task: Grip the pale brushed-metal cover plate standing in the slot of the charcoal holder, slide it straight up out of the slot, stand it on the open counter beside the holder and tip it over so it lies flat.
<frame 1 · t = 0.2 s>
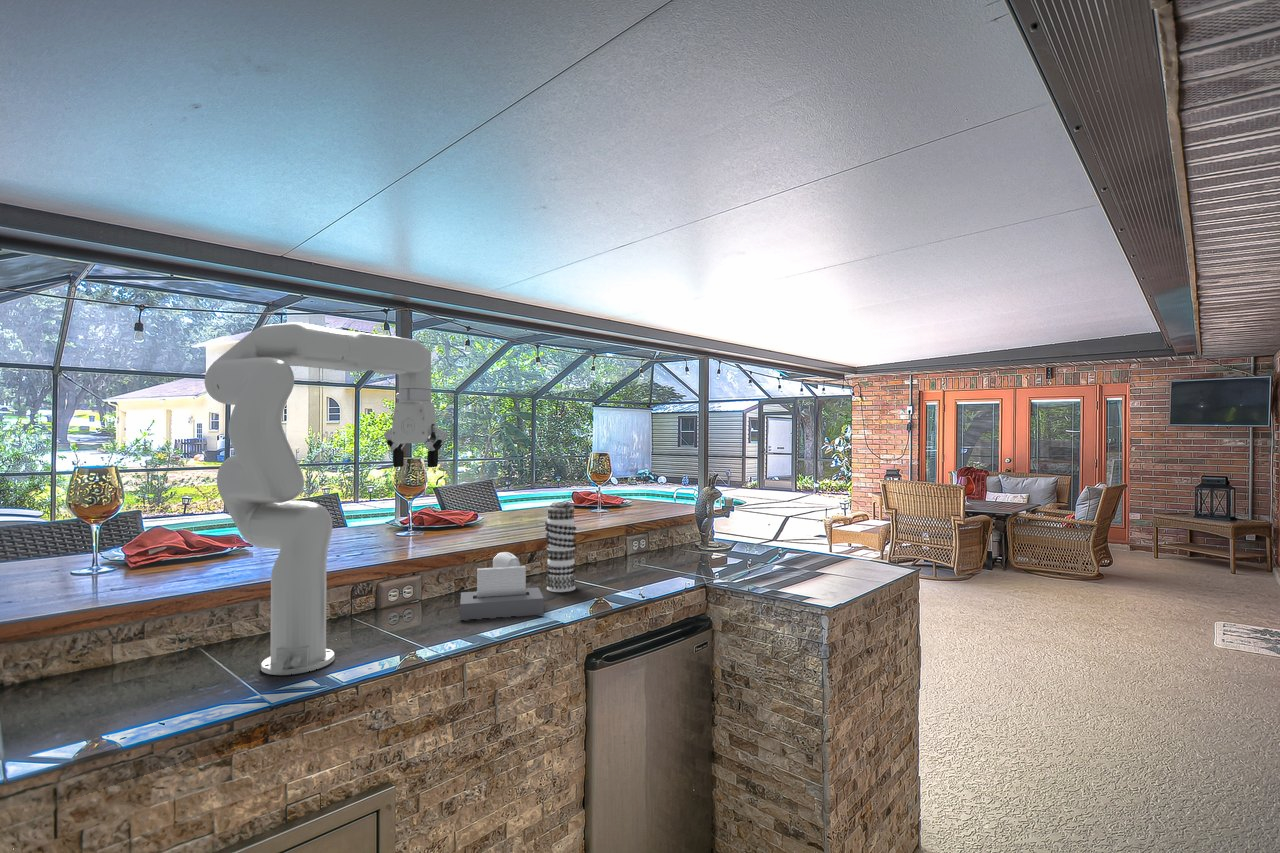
hand: (415, 466, 154), 37 cm above the worktop, tool pointing down, fingers open, 9 cm apart
slot holder: (501, 611, 160), on the worktop
decorative candle: (560, 589, 184), on the worktop
white rounded box: (506, 598, 174), on the worktop
cover plate: (501, 589, 160), in the slot holder
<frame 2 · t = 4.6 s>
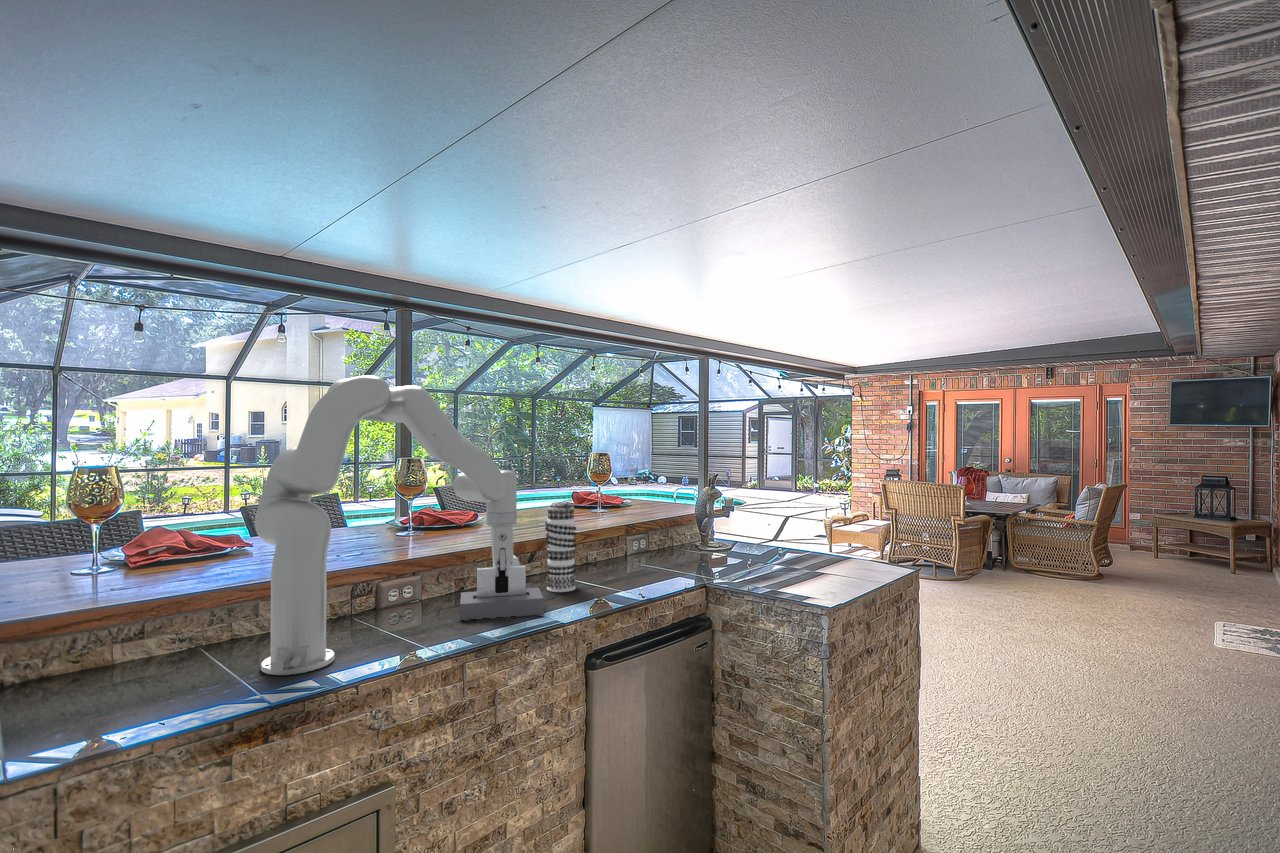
hand: (501, 590, 160), 5 cm above the worktop, tool pointing down, fingers closed on cover plate, 2 cm apart
cover plate: (501, 589, 160), in the slot holder, touching gripper
everything else where it was.
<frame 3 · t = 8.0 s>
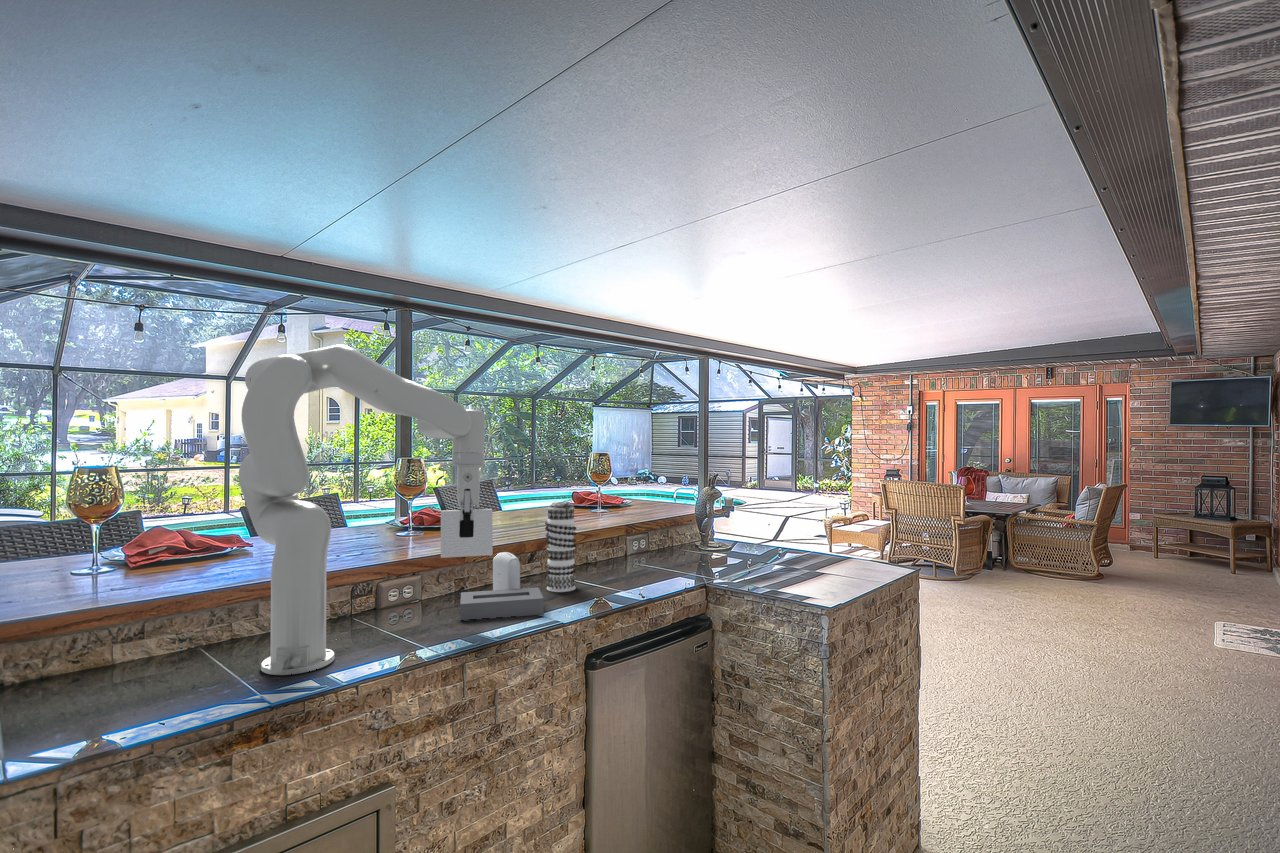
hand: (466, 535, 152), 20 cm above the worktop, tool pointing down, fingers closed on cover plate
cover plate: (466, 532, 152), point 21 cm above the worktop, touching gripper
everything else where it was.
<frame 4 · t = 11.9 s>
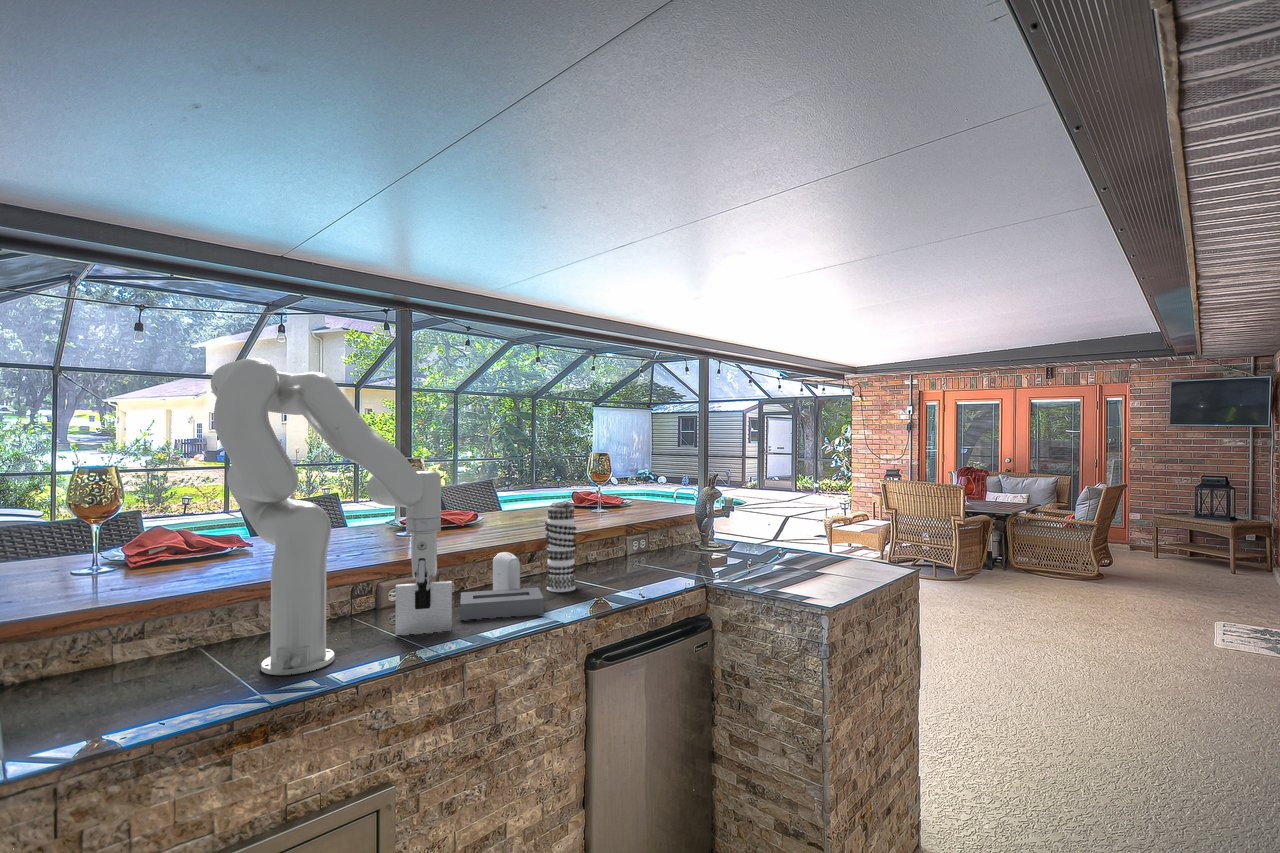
hand: (423, 605, 143), 6 cm above the worktop, tool pointing down, fingers open, 3 cm apart
cover plate: (424, 608, 143), on the worktop
everything else where it was.
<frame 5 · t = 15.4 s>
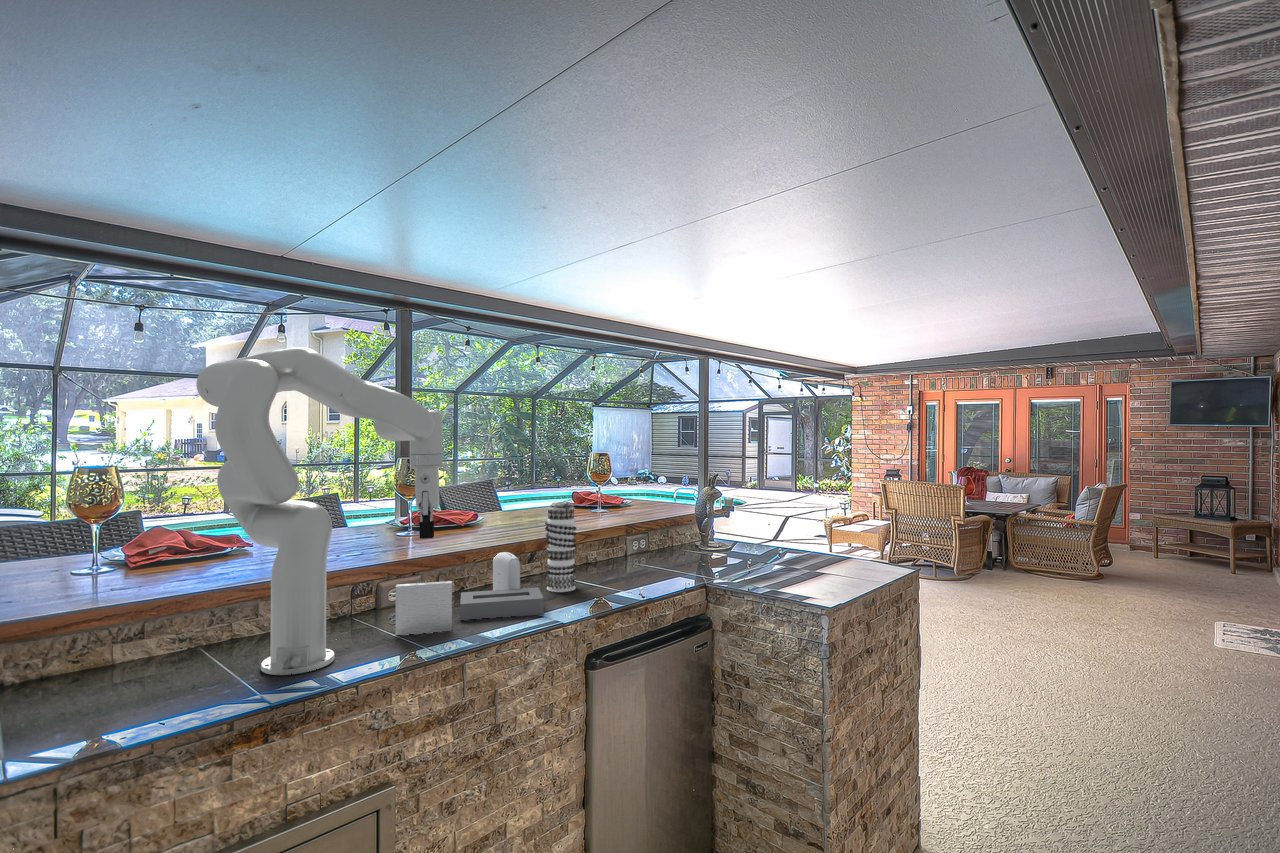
hand: (426, 537, 151), 20 cm above the worktop, tool pointing down, fingers closed
nothing on the worktop moved.
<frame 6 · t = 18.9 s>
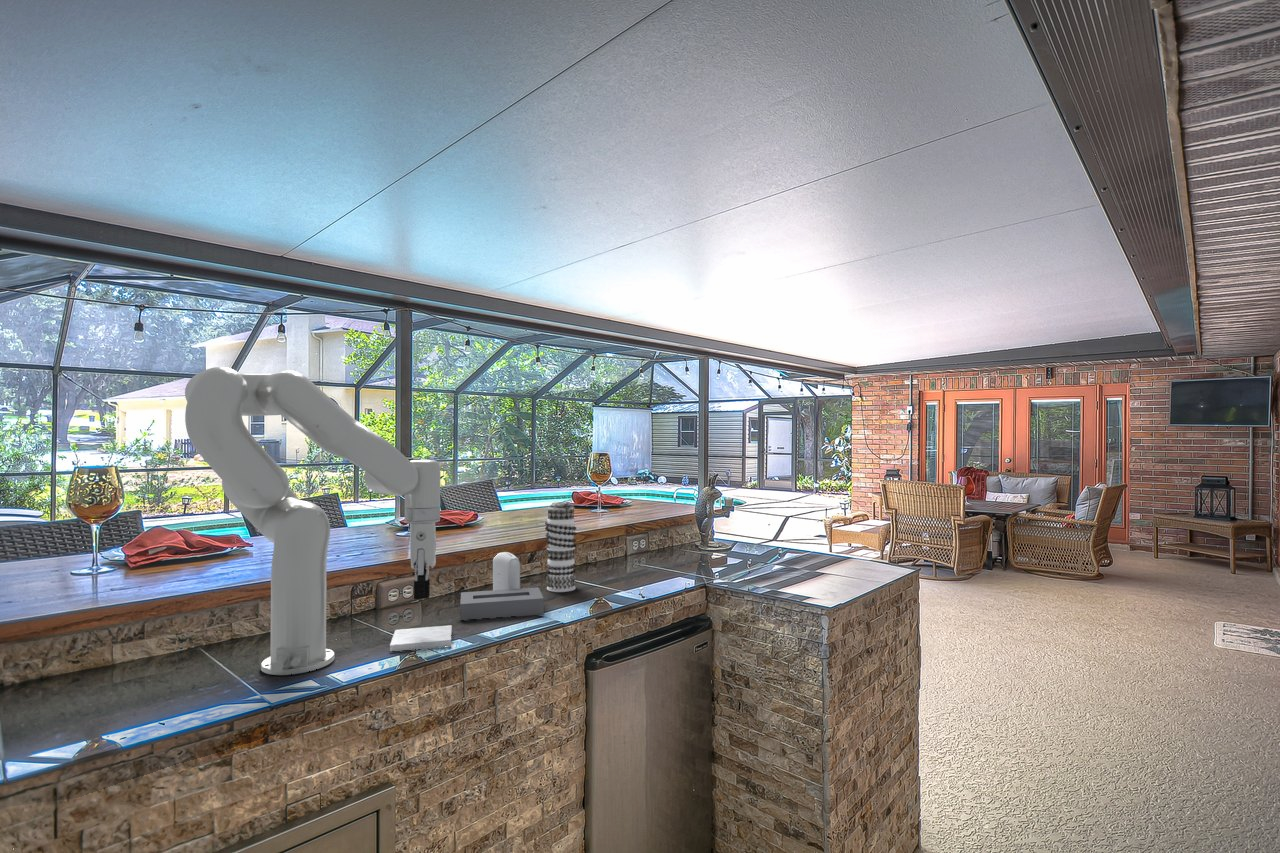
hand: (421, 597, 140), 8 cm above the worktop, tool pointing down, fingers closed
cover plate: (422, 639, 136), on the worktop, tilted 90°
everything else where it was.
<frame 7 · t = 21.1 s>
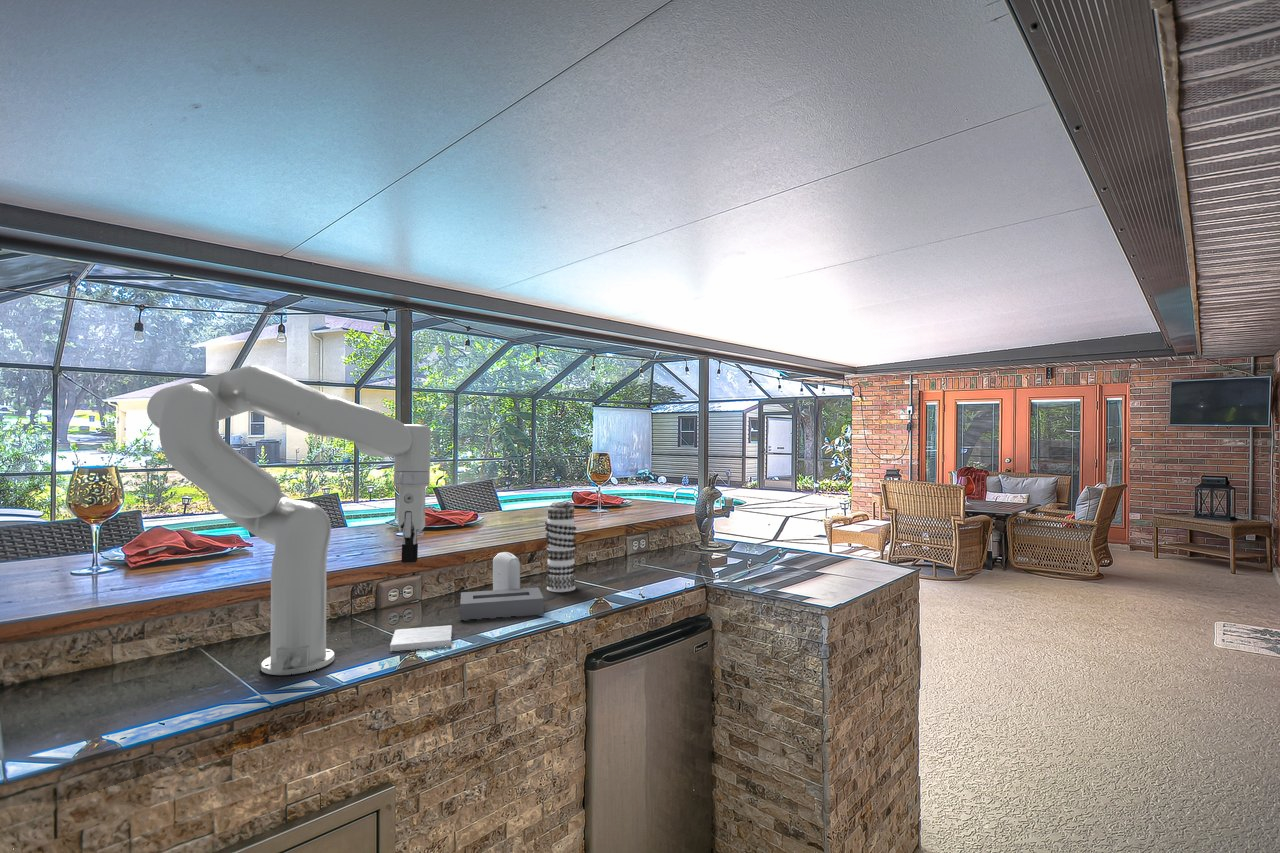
hand: (409, 561, 140), 16 cm above the worktop, tool pointing down, fingers closed
nothing on the worktop moved.
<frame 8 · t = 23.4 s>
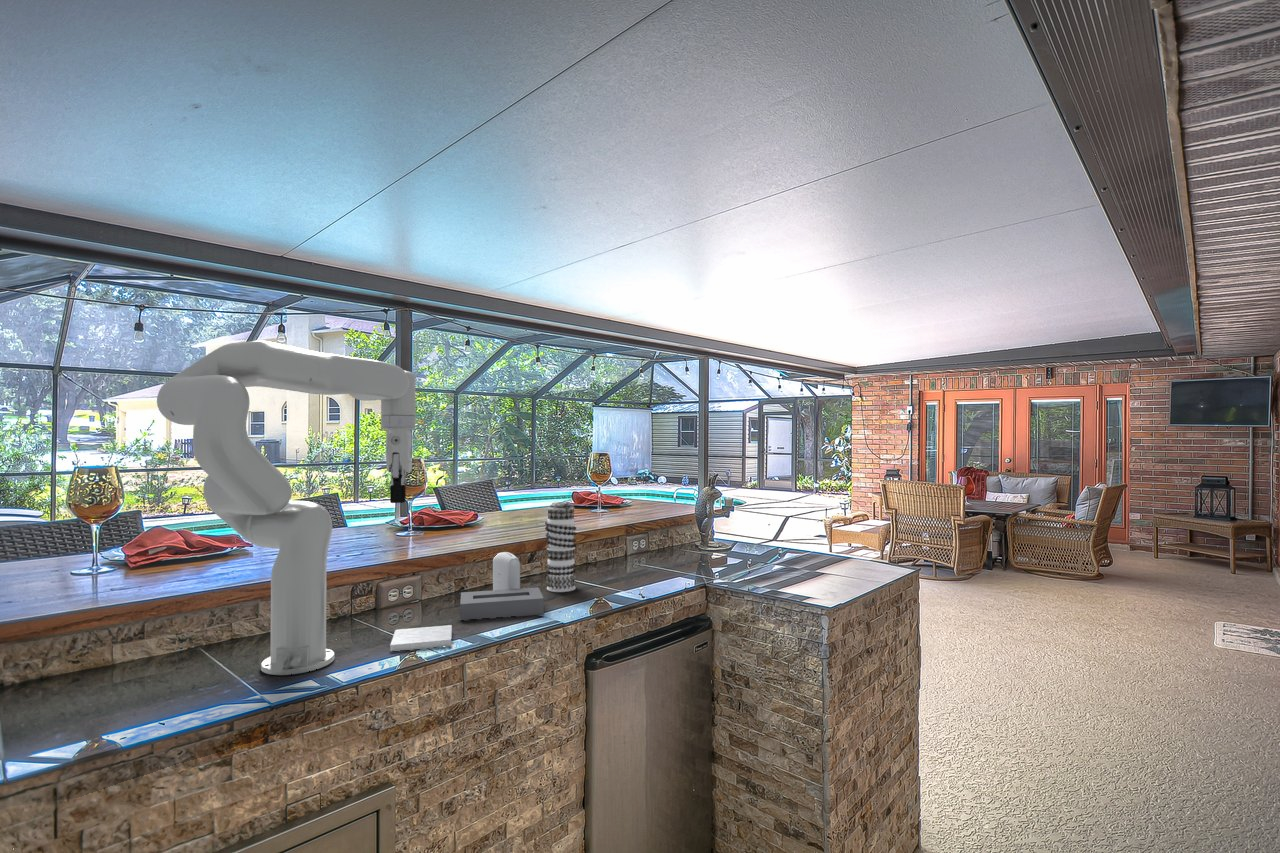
hand: (397, 502, 146), 29 cm above the worktop, tool pointing down, fingers closed
nothing on the worktop moved.
at the end: cover plate inside the target area (1.2 cm from its centre), on the worktop; cover plate tilted 90°; the gripper is holding nothing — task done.
